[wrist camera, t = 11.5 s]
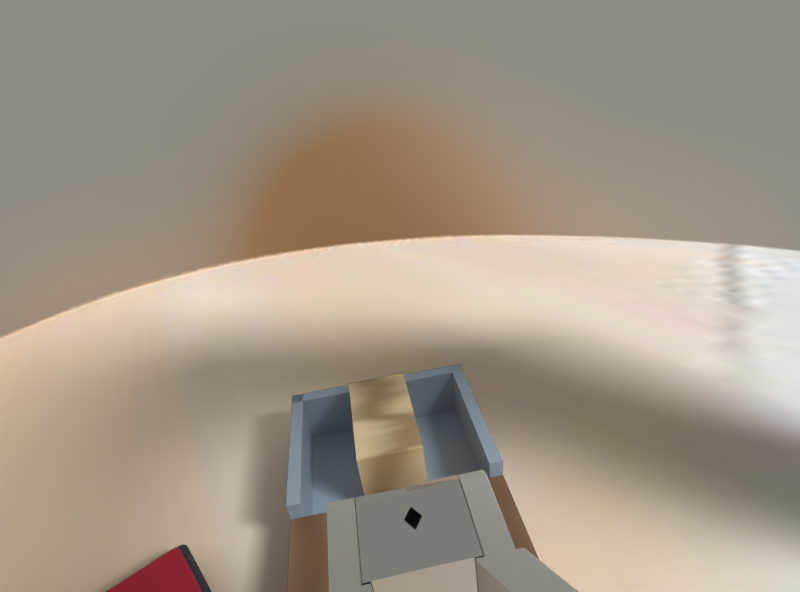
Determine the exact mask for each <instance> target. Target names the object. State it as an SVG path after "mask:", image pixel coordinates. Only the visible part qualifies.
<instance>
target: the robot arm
mask: <svg viewBox="0 0 800 592" xmlns="http://www.w3.org/2000/svg"><path fill="white" fill-rule="evenodd" d="M327 533H328V573H329V592H578V591H577V590H576V589H574V588H573V587H572V586H571V585H570V584H568V583H567V582H566V581H565V580H563V579H562V578H561V577H560V576H558V575H557V574H556V573H555V572H553V571H552V570H551V569H550V568H549V567H547V566H546V565H545V564H544V563H542V562H541V561H540V560H539V559H537V558H536V557H535V556H534V555H533V554H531V553H530V552H529V551H528V550H526V549H525V548H519V549H516V548H515V546H514V543H513V541H512V538H511V535H510V533H509V530H508V528H507V525H506V523H505V520H504V517H503V515H502V512H501V510H500V507H499V505H498V502H497V499H496V497H495V494H494V492H493V489H492V487H491V484H490V481H489V479H488V476H487V474H486V473H485V472H484V470H478V471H473V472H469V473H465V474H460V475H458V476H457V475H453V476H448V477H444V478H440V479H436V480H431V481H427V482H423V483H419V484H415V485H410V486H407V488H402V489H397V490H392V491H386V492H381V493H376V494H371V495H366V496H360V497H356V498H350V499H346V500H341V501H336V502H332V503H329V504H328V509H327Z"/></svg>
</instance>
